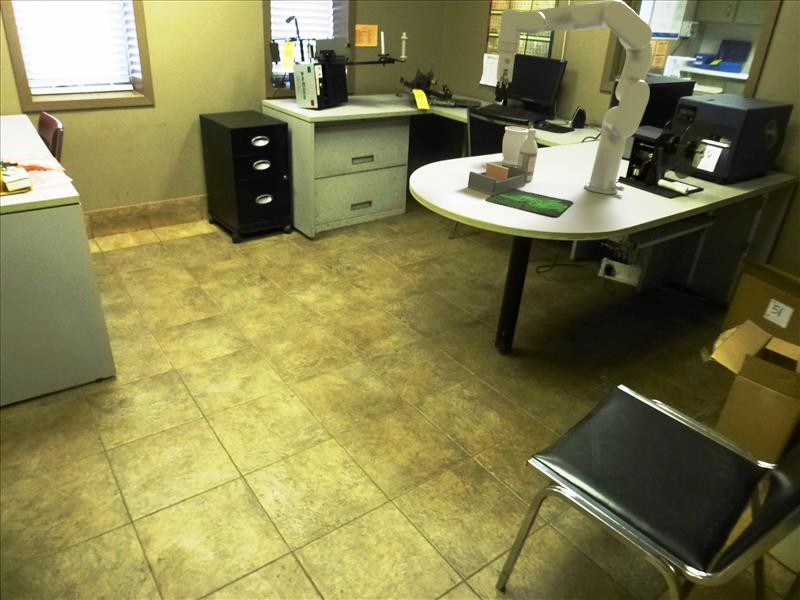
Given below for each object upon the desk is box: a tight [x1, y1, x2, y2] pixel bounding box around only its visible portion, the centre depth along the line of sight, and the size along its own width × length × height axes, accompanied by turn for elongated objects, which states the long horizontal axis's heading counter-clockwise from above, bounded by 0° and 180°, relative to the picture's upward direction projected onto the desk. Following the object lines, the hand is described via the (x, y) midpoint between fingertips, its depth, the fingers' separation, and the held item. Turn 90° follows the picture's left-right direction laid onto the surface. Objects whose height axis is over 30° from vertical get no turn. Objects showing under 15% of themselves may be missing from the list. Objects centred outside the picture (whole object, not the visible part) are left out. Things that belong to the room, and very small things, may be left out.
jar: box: [501, 126, 530, 166], centre depth 250 cm, size 11×10×15 cm
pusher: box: [485, 162, 509, 182], centre depth 215 cm, size 9×5×7 cm, turn 46°
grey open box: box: [467, 163, 528, 196], centre depth 219 cm, size 12×22×6 cm, turn 136°
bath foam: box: [516, 128, 539, 183], centre depth 227 cm, size 7×7×20 cm
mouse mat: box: [484, 188, 574, 218], centre depth 206 cm, size 27×22×1 cm
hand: (500, 97), depth 213 cm, fingers open, 9 cm apart
